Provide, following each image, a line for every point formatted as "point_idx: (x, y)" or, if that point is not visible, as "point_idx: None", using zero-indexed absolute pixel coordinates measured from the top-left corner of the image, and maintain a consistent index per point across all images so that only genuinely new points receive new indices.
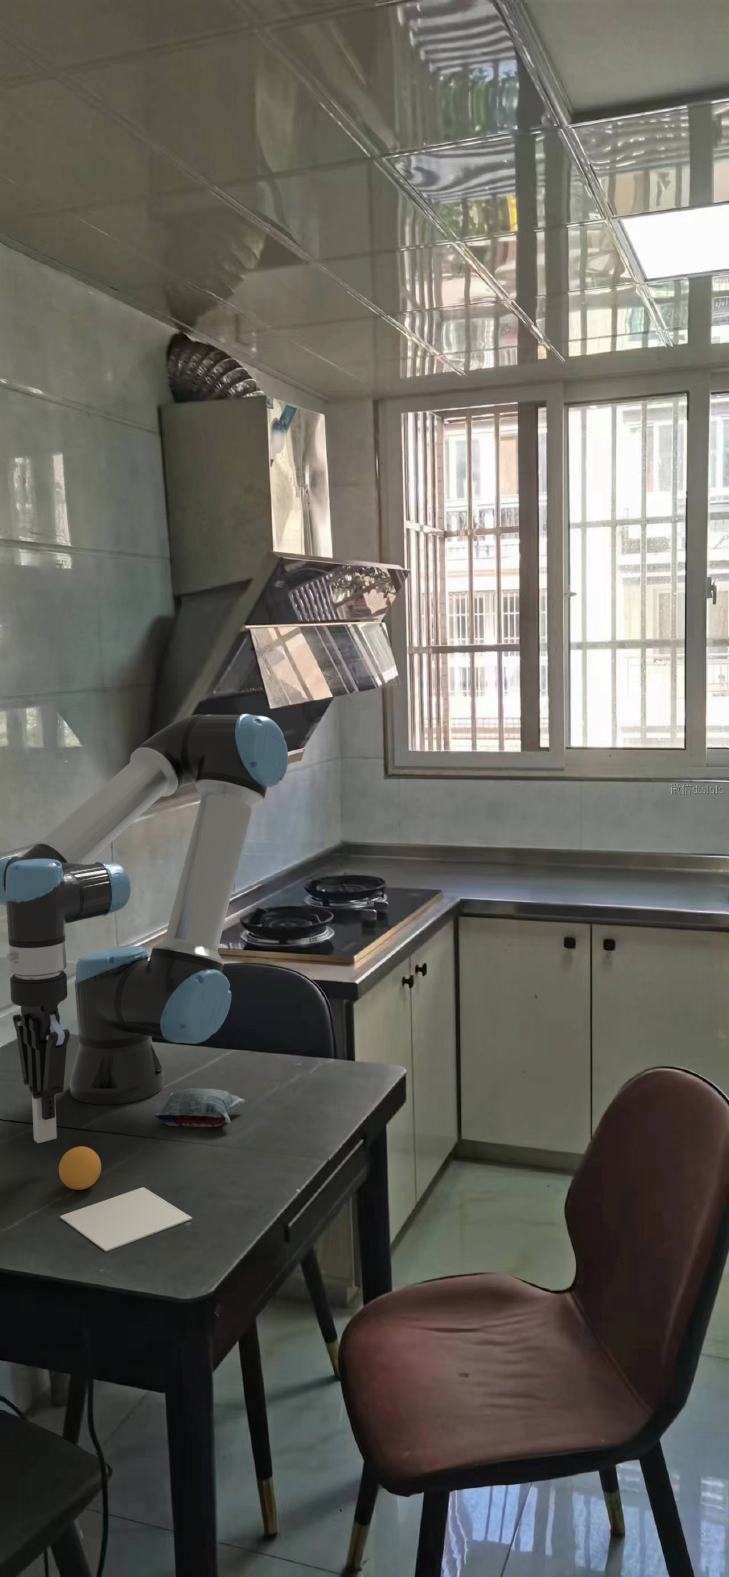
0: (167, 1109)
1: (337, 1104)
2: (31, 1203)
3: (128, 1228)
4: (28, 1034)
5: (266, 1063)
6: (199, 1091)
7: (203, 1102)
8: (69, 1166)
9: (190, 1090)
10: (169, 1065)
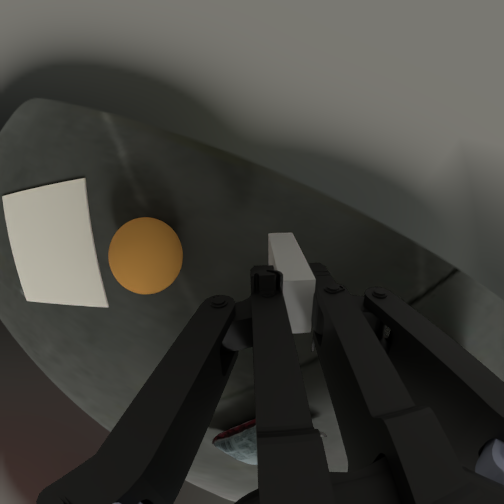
0: None
1: (210, 479)
2: (152, 156)
3: (25, 237)
4: (401, 474)
5: None
6: None
7: (239, 449)
8: (118, 233)
9: None
10: None
